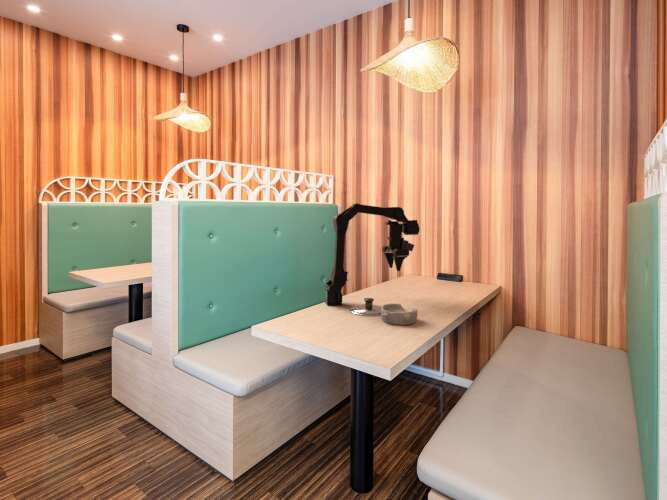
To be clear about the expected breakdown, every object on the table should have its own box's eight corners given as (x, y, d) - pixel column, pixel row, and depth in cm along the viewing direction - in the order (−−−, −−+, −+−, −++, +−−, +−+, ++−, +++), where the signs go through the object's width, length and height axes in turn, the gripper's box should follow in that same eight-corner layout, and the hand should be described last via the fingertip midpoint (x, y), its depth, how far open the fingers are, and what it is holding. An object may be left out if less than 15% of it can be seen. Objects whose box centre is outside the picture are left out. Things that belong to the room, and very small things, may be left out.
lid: (355, 318, 145) (355, 304, 145) (345, 307, 161) (345, 295, 160) (394, 316, 148) (394, 302, 148) (381, 306, 164) (381, 294, 163)
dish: (388, 313, 151) (388, 301, 151) (422, 318, 144) (422, 306, 144) (373, 322, 139) (373, 309, 138) (409, 329, 132) (410, 315, 131)
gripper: (421, 236, 161) (420, 272, 162) (404, 233, 179) (403, 266, 181) (396, 236, 159) (395, 273, 160) (382, 233, 177) (381, 266, 178)
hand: (394, 269), depth 170 cm, fingers open, 9 cm apart
